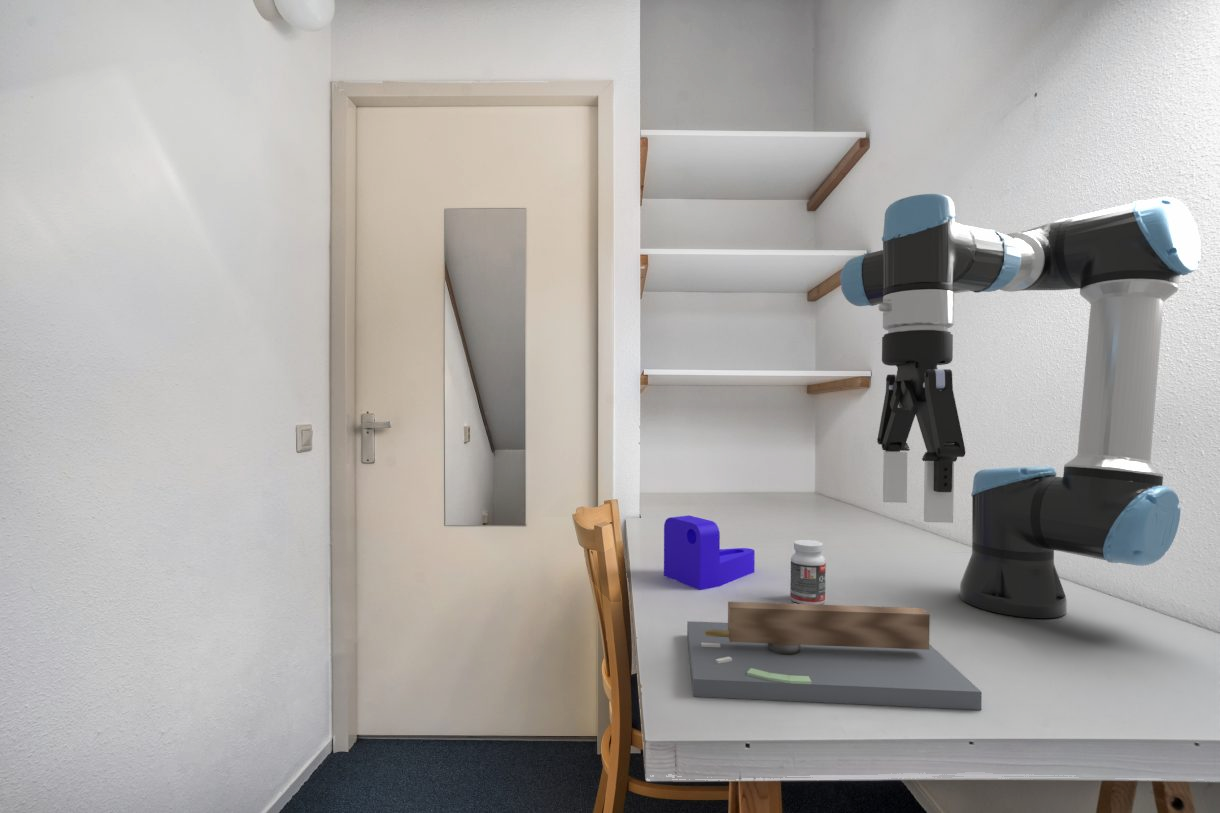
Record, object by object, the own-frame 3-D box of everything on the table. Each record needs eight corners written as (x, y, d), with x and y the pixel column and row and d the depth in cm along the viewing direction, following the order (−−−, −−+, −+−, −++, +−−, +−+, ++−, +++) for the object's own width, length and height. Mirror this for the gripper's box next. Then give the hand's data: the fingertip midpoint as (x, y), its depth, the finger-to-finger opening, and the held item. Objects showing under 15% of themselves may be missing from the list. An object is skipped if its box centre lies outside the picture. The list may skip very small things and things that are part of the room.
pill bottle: (827, 607, 104) (828, 547, 104) (791, 605, 105) (792, 545, 105) (822, 597, 109) (823, 540, 109) (789, 594, 110) (789, 538, 110)
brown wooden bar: (918, 647, 81) (919, 606, 81) (931, 660, 77) (932, 616, 77) (704, 639, 84) (704, 598, 84) (706, 651, 80) (706, 608, 80)
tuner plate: (913, 643, 88) (913, 627, 88) (981, 709, 69) (981, 689, 69) (687, 635, 91) (687, 619, 91) (693, 696, 72) (693, 676, 72)
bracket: (700, 590, 113) (700, 525, 113) (663, 576, 122) (664, 515, 122) (771, 576, 122) (772, 516, 122) (733, 564, 131) (733, 508, 131)
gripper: (854, 341, 87) (852, 494, 87) (924, 317, 62) (922, 531, 62) (910, 341, 86) (909, 496, 86) (1005, 316, 61) (1002, 533, 62)
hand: (914, 511), depth 74 cm, fingers open, 13 cm apart
